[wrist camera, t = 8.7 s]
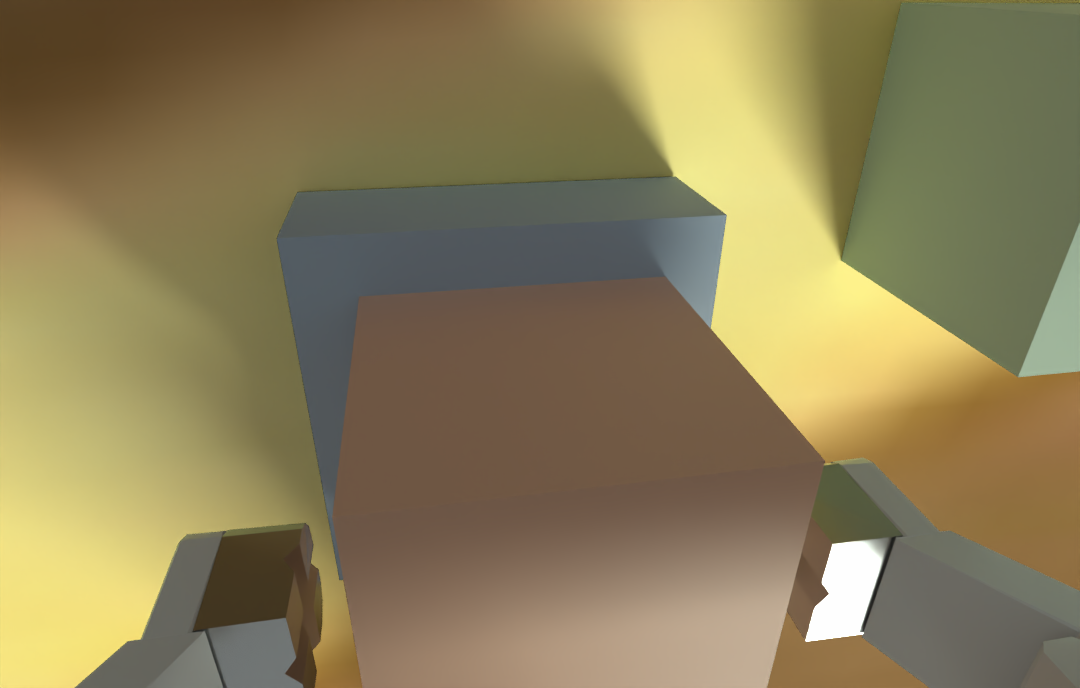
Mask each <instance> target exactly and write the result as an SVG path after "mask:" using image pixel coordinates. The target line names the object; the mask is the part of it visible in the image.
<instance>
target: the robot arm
mask: <svg viewBox="0 0 1080 688" xmlns="http://www.w3.org/2000/svg"><path fill="white" fill-rule="evenodd" d="M312 551H313V541H312V537H311V533H310V529H309V526H308V525H307V524H306V523H299V524H288V525H277V526H266V527H255V528H244V529H233V530H227V531H220V532H209V533H198V534H187V535H186V536H185V537H184V538H183V539H182V540H181V541H180V542H179V543H178V545H177V548H176V551H175V553H174V556H173V558H172V561H171V563H170V566H169V568H168V571H167V574H166V576H165V579H164V581H163V584H162V586H161V589H160V592H159V594H158V597H157V599H156V602H155V604H154V607H153V609H152V612H151V615H150V617H149V620H148V622H147V625H146V627H145V630H144V632H143V635H142V638H141V640H134V641H128V642H126V643H125V644H124V645H123V646H122V647H121V648H119V649H118V650H117V651H116V652H115V653H114V654H113V655H111V656H110V657H109V658H108V659H107V660H106V661H105V662H104V663H102V664H101V665H100V666H99V667H98V668H97V669H96V670H94V671H93V672H92V673H91V674H90V675H89V676H88V677H86V678H85V679H84V680H83V681H82V682H81V683H80V684H78V685H77V686H76V687H75V688H315V681H316V674H317V670H316V665H315V660H314V656H313V651H312V650H313V649H314V648H315V647H316V646H317V645H318V643H319V642H320V640H321V630H322V601H323V599H322V589H321V581H320V576H319V570H318V569H317V568H316V567H315V566H313V565H312V564H311V558H312ZM787 612H788V613H789V615H790V617H791V618H792V620H793V622H794V623H795V625H796V627H797V628H798V630H799V631H800V633H801V635H802V636H803V638H804V640H805V641H812V640H820V639H828V638H836V637H844V636H852V635H859V634H863V635H862V638H864V639H865V640H866V641H868V642H869V643H870V644H872V645H873V646H874V647H876V648H877V649H878V650H880V651H881V652H882V653H884V654H885V655H886V656H888V657H889V658H890V659H892V660H893V661H894V662H896V663H897V664H899V665H900V666H901V667H903V668H904V669H905V670H907V671H908V672H909V673H911V674H912V675H913V676H915V677H916V678H917V679H919V680H920V681H921V682H923V683H924V684H925V685H927V686H928V687H929V688H1080V591H1079V590H1076V589H1074V588H1072V587H1070V586H1068V585H1066V584H1063V583H1061V582H1059V581H1057V580H1055V579H1053V578H1051V577H1048V576H1046V575H1044V574H1042V573H1040V572H1038V571H1035V570H1033V569H1031V568H1029V567H1027V566H1025V565H1023V564H1020V563H1018V562H1016V561H1014V560H1012V559H1010V558H1008V557H1005V556H1003V555H1001V554H999V553H997V552H995V551H992V550H990V549H988V548H986V547H984V546H982V545H980V544H977V543H975V542H973V541H971V540H969V539H967V538H964V537H962V536H960V535H958V534H956V533H954V532H952V531H943V532H940V531H939V530H938V529H937V528H936V527H935V526H934V525H933V524H932V523H931V522H930V521H929V520H928V519H927V518H926V517H925V516H924V515H923V514H922V513H921V512H920V511H919V510H918V509H917V508H916V507H915V506H914V504H913V503H912V502H911V501H910V500H909V499H908V498H907V497H906V496H905V495H904V494H903V493H902V492H901V491H900V490H899V489H898V488H897V487H896V486H895V485H894V484H893V483H892V482H891V481H890V480H889V479H888V478H887V477H886V475H885V474H884V473H883V472H882V471H881V470H880V469H879V468H878V467H877V466H876V465H875V464H874V463H873V462H871V461H869V460H867V459H865V458H857V459H850V460H842V461H835V462H831V463H824V467H823V471H822V475H821V479H820V483H819V487H818V491H817V495H816V498H815V502H814V506H813V510H812V514H811V518H810V522H809V526H808V530H807V533H806V537H805V541H804V545H803V549H802V553H801V557H800V561H799V565H798V568H797V572H796V576H795V580H794V584H793V588H792V592H791V596H790V599H789V603H788V607H787Z"/></svg>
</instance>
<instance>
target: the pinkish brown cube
mask: <svg viewBox="0 0 1080 688" xmlns="http://www.w3.org/2000/svg"><path fill="white" fill-rule="evenodd" d="M824 463H825V460H824V459H823V458H822V457H821V456H820V455H819V453H818V452H817V451H816V450H815V449H814V448H813V446H812V445H811V444H810V443H809V442H808V441H807V440H806V438H805V437H804V436H803V435H802V434H801V433H800V431H799V430H798V429H797V428H796V427H795V426H794V425H793V423H792V422H791V421H790V420H789V419H788V418H787V416H786V415H785V414H784V413H783V412H782V411H781V409H780V408H779V407H778V406H777V405H776V404H775V403H774V401H773V400H772V399H771V398H770V397H769V396H768V394H767V393H766V392H765V391H764V390H763V389H762V388H761V386H760V385H759V384H758V383H757V382H756V381H755V379H754V378H753V377H752V376H751V375H750V374H749V372H748V371H747V370H746V369H745V368H744V367H743V366H742V364H741V363H740V362H739V361H738V360H737V359H736V357H735V356H734V355H733V354H732V353H731V352H730V351H729V349H728V348H727V347H726V346H725V345H724V344H723V342H722V341H721V340H720V339H719V338H718V337H717V335H716V334H715V333H714V332H713V331H712V330H711V329H710V327H709V326H708V325H707V324H706V323H705V322H704V320H703V319H702V318H701V317H700V316H699V315H698V314H697V312H696V311H695V310H694V309H693V308H692V307H691V305H690V304H689V303H688V302H687V301H686V300H685V298H684V297H683V296H682V295H681V294H680V293H679V292H678V290H677V289H676V288H675V287H674V286H673V285H672V283H671V282H670V281H669V280H668V279H667V278H666V277H650V278H635V279H620V280H604V281H589V282H574V283H558V284H543V285H528V286H512V287H497V288H482V289H466V290H451V291H436V292H420V293H405V294H390V295H375V296H359V301H358V310H357V318H356V326H355V334H354V342H353V351H352V359H351V367H350V375H349V384H348V392H347V400H346V408H345V416H344V425H343V433H342V441H341V449H340V457H339V466H338V474H337V482H336V490H335V498H334V507H333V515H332V519H333V525H334V530H335V536H336V541H337V547H338V552H339V558H340V564H341V569H342V575H343V580H344V586H345V591H346V597H347V602H348V608H349V614H350V619H351V625H352V630H353V636H354V641H355V647H356V652H357V658H358V664H359V669H360V675H361V680H362V686H363V688H767V685H768V681H769V677H770V673H771V669H772V666H773V662H774V658H775V654H776V650H777V646H778V642H779V638H780V634H781V631H782V627H783V623H784V619H785V615H786V611H787V607H788V603H789V599H790V596H791V592H792V588H793V584H794V580H795V576H796V572H797V568H798V565H799V561H800V557H801V553H802V549H803V545H804V541H805V537H806V533H807V530H808V526H809V522H810V518H811V514H812V510H813V506H814V502H815V498H816V495H817V491H818V487H819V483H820V479H821V475H822V471H823V467H824Z"/></svg>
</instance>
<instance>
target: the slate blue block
mask: <svg viewBox="0 0 1080 688" xmlns="http://www.w3.org/2000/svg"><path fill="white" fill-rule="evenodd" d="M726 216H727V215H726V214H724V213H723V212H722V211H720V210H719V209H718V208H716V207H715V206H714V205H712V204H711V203H710V202H708V201H707V200H706V199H705V198H703V197H702V196H701V195H699V194H698V193H697V192H695V191H694V190H693V189H691V188H690V187H689V186H687V185H686V184H685V183H683V182H682V181H681V180H679V179H678V178H677V177H653V178H629V179H605V180H581V181H557V182H532V183H508V184H484V185H460V186H436V187H412V188H388V189H363V190H339V191H315V192H297V194H296V197H295V199H294V201H293V203H292V205H291V208H290V210H289V212H288V214H287V217H286V219H285V221H284V223H283V225H282V228H281V230H280V232H279V234H278V236H277V243H278V248H279V254H280V259H281V265H282V270H283V276H284V281H285V286H286V292H287V297H288V303H289V308H290V314H291V319H292V324H293V330H294V335H295V341H296V346H297V352H298V357H299V362H300V368H301V373H302V379H303V384H304V390H305V395H306V400H307V406H308V411H309V417H310V422H311V428H312V433H313V439H314V444H315V449H316V455H317V460H318V466H319V471H320V477H321V482H322V487H323V493H324V498H325V504H326V509H327V515H328V520H329V525H330V531H331V536H332V542H333V547H334V553H335V558H336V563H337V569H338V574H339V580H343V575H342V569H341V564H340V558H339V552H338V547H337V541H336V536H335V530H334V525H333V519H332V515H333V507H334V498H335V490H336V482H337V474H338V466H339V457H340V449H341V441H342V433H343V425H344V416H345V408H346V400H347V392H348V384H349V375H350V367H351V359H352V351H353V342H354V334H355V326H356V318H357V310H358V301H359V296H375V295H390V294H405V293H420V292H436V291H451V290H466V289H482V288H497V287H512V286H528V285H543V284H558V283H574V282H589V281H604V280H620V279H635V278H650V277H666V278H667V279H668V280H669V281H670V282H671V283H672V285H673V286H674V287H675V288H676V289H677V290H678V292H679V293H680V294H681V295H682V296H683V297H684V298H685V300H686V301H687V302H688V303H689V304H690V305H691V307H692V308H693V309H694V310H695V311H696V312H697V314H698V315H699V316H700V317H701V318H702V319H703V320H704V322H705V323H706V324H707V325H708V326H709V327H710V329H711V322H712V315H713V308H714V301H715V294H716V287H717V279H718V272H719V265H720V258H721V251H722V244H723V237H724V230H725V223H726Z"/></svg>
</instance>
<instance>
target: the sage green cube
mask: <svg viewBox="0 0 1080 688" xmlns="http://www.w3.org/2000/svg"><path fill="white" fill-rule="evenodd" d="M841 261H843V262H844V263H846V264H847V265H849V266H851V267H852V268H854V269H855V270H857V271H858V272H860V273H861V274H863V275H864V276H866V277H867V278H869V279H870V280H872V281H873V282H875V283H876V284H878V285H879V286H881V287H882V288H884V289H885V290H887V291H888V292H890V293H891V294H893V295H894V296H896V297H897V298H899V299H901V300H902V301H904V302H905V303H907V304H908V305H910V306H911V307H913V308H914V309H916V310H917V311H919V312H920V313H922V314H923V315H925V316H926V317H928V318H929V319H931V320H932V321H934V322H935V323H937V324H938V325H940V326H941V327H943V328H944V329H946V330H947V331H949V332H951V333H952V334H954V335H955V336H957V337H958V338H960V339H961V340H963V341H964V342H966V343H967V344H969V345H970V346H972V347H973V348H975V349H976V350H978V351H979V352H981V353H982V354H984V355H985V356H987V357H988V358H990V359H991V360H993V361H994V362H996V363H997V364H999V365H1001V366H1002V367H1004V368H1005V369H1007V370H1008V371H1010V372H1011V373H1013V374H1014V375H1016V376H1017V377H1024V376H1034V375H1045V374H1055V373H1066V372H1076V371H1080V3H901V6H900V11H899V15H898V19H897V23H896V28H895V32H894V36H893V41H892V45H891V49H890V53H889V58H888V62H887V66H886V71H885V75H884V79H883V83H882V88H881V92H880V96H879V101H878V105H877V109H876V113H875V118H874V122H873V126H872V130H871V135H870V139H869V143H868V148H867V152H866V156H865V160H864V165H863V169H862V173H861V178H860V182H859V186H858V190H857V195H856V199H855V203H854V208H853V212H852V216H851V220H850V225H849V229H848V233H847V238H846V242H845V246H844V250H843V255H842V259H841Z"/></svg>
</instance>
